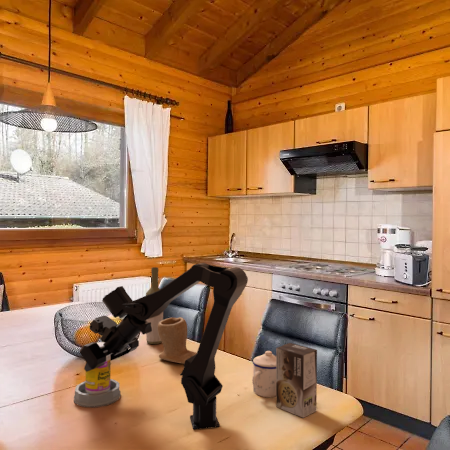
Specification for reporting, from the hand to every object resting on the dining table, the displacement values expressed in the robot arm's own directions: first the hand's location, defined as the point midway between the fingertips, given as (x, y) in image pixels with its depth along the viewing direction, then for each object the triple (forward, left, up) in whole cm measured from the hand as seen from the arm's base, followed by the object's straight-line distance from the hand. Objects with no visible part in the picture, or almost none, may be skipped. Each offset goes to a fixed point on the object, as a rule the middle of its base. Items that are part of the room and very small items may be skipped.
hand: (94, 365), depth 117 cm
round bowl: (-1, -1, -9) cm, 9 cm away
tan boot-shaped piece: (+24, -26, -9) cm, 37 cm away
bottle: (+47, -19, -9) cm, 52 cm away
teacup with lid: (-7, -48, -9) cm, 49 cm away
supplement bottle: (-1, -1, -7) cm, 7 cm away
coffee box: (-18, -53, -9) cm, 56 cm away
